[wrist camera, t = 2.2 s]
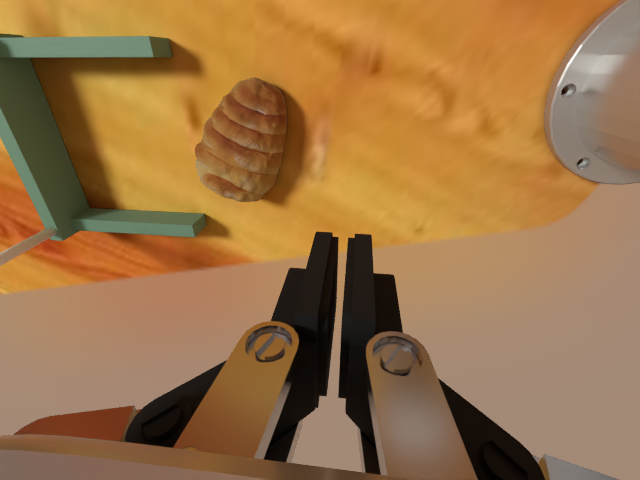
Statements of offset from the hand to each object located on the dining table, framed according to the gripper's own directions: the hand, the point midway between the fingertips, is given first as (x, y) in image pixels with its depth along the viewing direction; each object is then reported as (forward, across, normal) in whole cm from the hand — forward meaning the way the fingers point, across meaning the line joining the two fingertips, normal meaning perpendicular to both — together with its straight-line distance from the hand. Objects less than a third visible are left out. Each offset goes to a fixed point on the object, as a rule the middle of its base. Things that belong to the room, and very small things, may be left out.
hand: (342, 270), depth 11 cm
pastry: (+18, +9, 0) cm, 20 cm away
